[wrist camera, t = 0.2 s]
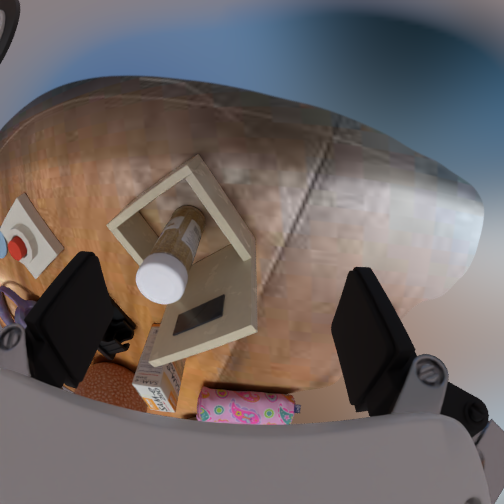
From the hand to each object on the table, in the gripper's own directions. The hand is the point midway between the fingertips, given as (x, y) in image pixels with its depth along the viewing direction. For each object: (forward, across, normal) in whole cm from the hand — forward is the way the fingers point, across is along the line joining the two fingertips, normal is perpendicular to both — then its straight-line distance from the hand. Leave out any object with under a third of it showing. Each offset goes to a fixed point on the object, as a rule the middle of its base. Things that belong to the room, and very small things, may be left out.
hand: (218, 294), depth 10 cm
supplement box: (+24, +11, +31) cm, 41 cm away
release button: (+20, +36, +11) cm, 42 cm away
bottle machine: (+24, +6, +8) cm, 26 cm away
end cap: (+24, +23, +26) cm, 42 cm away
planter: (+24, +27, +47) cm, 59 cm away
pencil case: (+24, -3, +49) cm, 54 cm away
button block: (+24, +36, +11) cm, 44 cm away
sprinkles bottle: (+24, +6, +8) cm, 26 cm away
